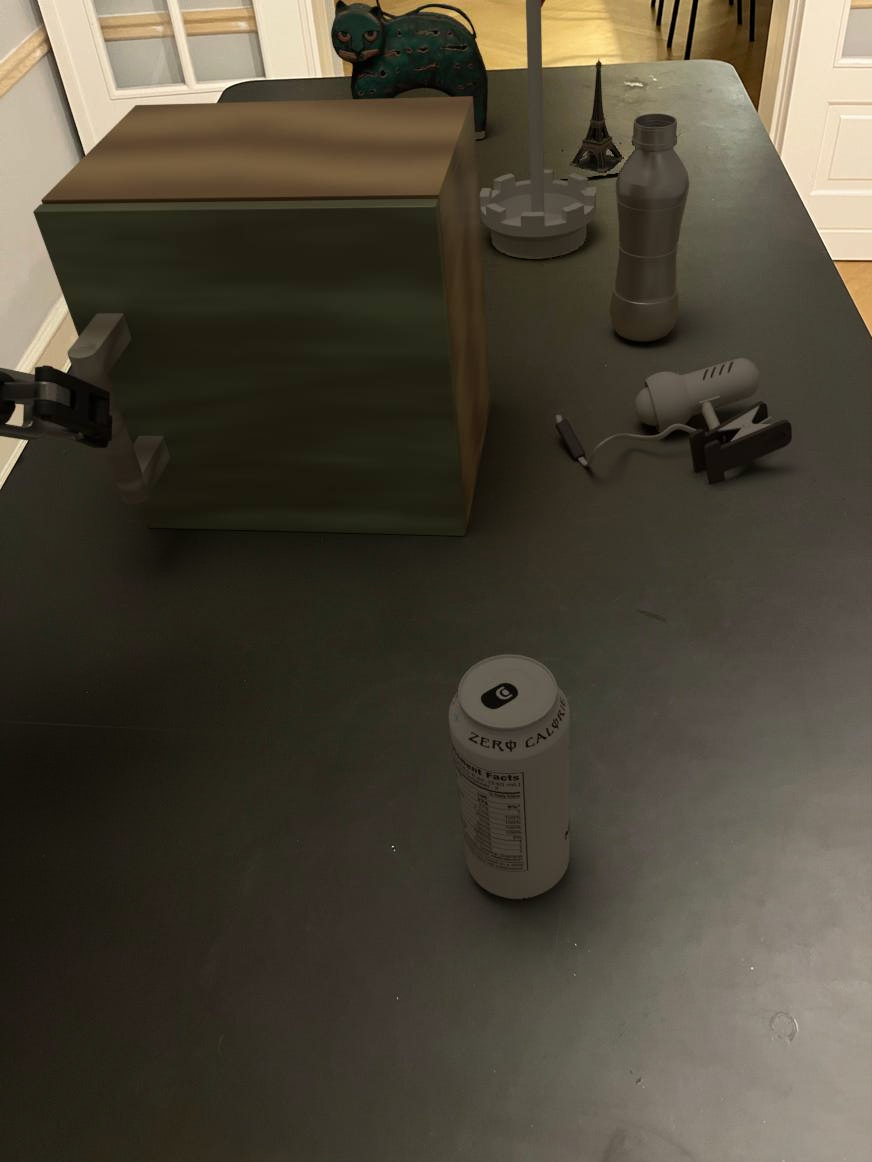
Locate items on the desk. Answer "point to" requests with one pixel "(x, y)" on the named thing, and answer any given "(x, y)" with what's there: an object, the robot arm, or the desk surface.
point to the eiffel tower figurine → (597, 138)
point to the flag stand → (537, 182)
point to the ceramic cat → (410, 54)
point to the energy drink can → (512, 774)
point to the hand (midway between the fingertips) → (37, 430)
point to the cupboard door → (268, 360)
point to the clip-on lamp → (702, 392)
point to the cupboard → (319, 189)
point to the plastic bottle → (649, 231)
